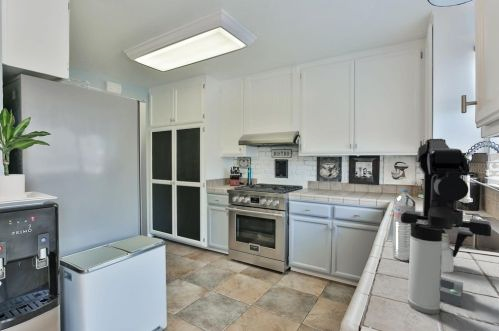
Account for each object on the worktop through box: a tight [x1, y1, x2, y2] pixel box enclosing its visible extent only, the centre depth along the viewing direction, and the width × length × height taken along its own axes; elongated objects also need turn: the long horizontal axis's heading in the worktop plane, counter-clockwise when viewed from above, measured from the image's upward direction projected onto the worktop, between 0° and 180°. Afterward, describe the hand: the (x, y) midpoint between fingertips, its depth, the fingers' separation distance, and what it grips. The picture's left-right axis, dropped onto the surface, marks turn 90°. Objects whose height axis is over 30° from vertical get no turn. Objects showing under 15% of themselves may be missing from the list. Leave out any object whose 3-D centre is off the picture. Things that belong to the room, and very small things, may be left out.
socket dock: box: [440, 276, 464, 308], centre depth 68 cm, size 10×9×3 cm
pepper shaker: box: [441, 233, 455, 273], centre depth 69 cm, size 4×4×10 cm
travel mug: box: [407, 223, 442, 315], centre depth 61 cm, size 6×7×20 cm
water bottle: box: [392, 189, 417, 262], centre depth 93 cm, size 7×7×25 cm
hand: (441, 253), depth 69 cm, fingers closed on pepper shaker, 5 cm apart
